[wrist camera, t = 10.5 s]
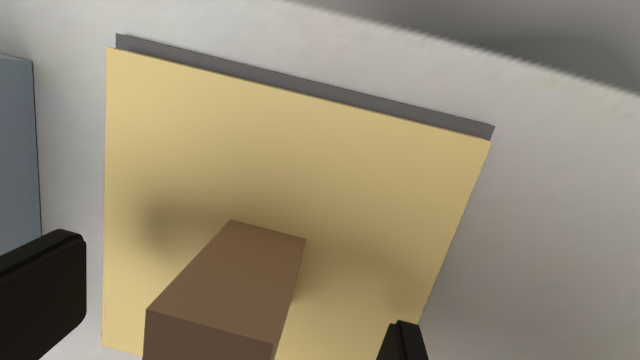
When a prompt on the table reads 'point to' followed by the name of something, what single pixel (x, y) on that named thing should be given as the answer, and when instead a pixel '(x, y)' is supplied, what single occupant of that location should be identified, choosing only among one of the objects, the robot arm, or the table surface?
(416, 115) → the mat
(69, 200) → the table surface
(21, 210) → the storage box
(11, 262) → the robot arm
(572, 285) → the table surface
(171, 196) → the lid
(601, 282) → the table surface
